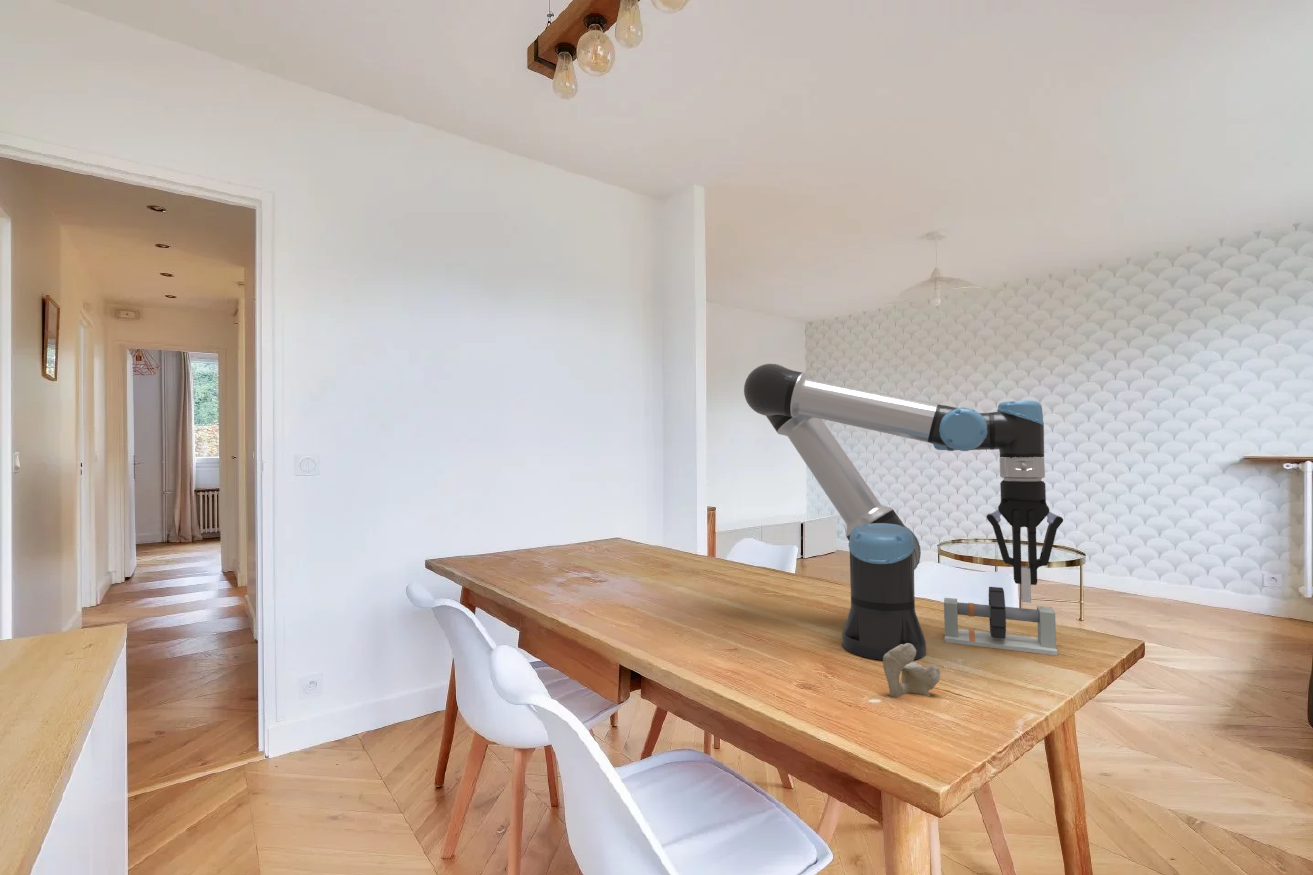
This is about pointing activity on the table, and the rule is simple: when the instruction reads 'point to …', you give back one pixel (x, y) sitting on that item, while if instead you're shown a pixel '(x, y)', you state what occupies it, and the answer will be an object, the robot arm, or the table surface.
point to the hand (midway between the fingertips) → (1025, 600)
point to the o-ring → (997, 612)
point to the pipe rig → (1011, 642)
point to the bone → (908, 672)
